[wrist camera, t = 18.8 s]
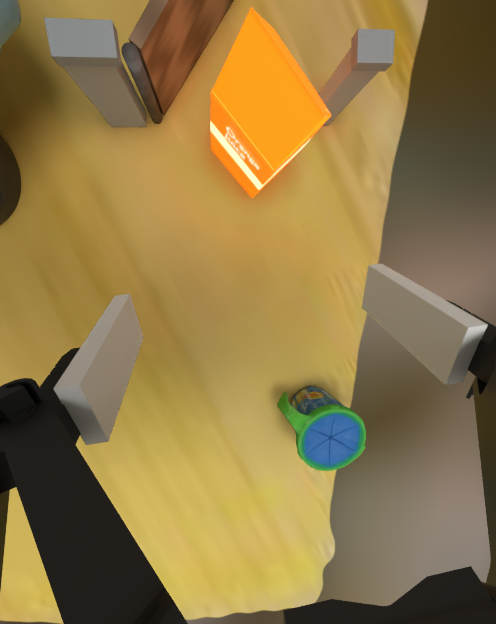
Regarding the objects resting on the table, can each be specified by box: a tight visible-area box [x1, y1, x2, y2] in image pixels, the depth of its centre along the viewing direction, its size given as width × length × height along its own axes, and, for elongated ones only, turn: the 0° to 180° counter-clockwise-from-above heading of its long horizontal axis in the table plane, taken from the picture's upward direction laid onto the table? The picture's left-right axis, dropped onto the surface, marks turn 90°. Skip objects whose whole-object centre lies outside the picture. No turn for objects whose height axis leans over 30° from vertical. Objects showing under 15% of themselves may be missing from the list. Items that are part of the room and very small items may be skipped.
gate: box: [122, 0, 233, 123], centre depth 29 cm, size 19×2×12 cm, turn 145°
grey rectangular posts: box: [44, 18, 395, 127], centre depth 31 cm, size 30×3×14 cm, turn 93°
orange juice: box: [210, 8, 331, 198], centre depth 29 cm, size 8×9×20 cm
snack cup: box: [277, 386, 366, 471], centre depth 45 cm, size 16×10×10 cm
